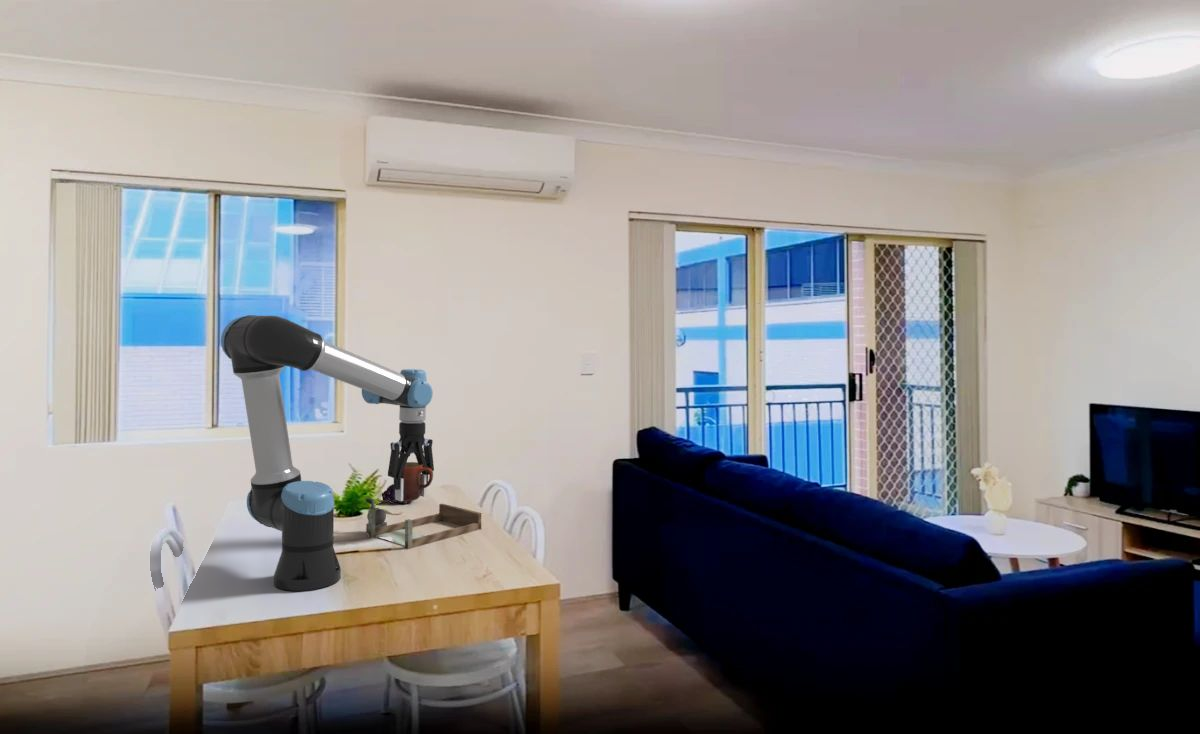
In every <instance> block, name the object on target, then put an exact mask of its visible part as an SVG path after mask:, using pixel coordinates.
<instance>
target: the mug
mask: <svg viewBox="0 0 1200 734" xmlns="http://www.w3.org/2000/svg"><path fill="white" fill-rule="evenodd" d="M422 471H429V474H430V475H428V483H427V484H425V485H422V484H421V474H422V473H421V472H422ZM401 478H403V479H404V481H403V501H408V502H412V501H413V500H414V501H416V500H418V499H419V498H420V497H421V496H420V494H421V489H424V488H426V489H427V488H428V487H429V486H431V484H432V481H433V479H434V471H432V469H430V468H426V467H425V468H424V467H423V464H421V465H418V462H416V461H415V462H413V461H412V462H411V461H407V462H406V465H405V468H404V471H403V474H402V476H401Z"/></svg>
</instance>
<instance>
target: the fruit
mask: <svg viewBox="0 0 1200 734" xmlns="http://www.w3.org/2000/svg"><path fill="white" fill-rule="evenodd" d="M381 497H382V501H383V502H387V501H388V502H389V501H391V502H392V503H391V504H393V503H398V504H401V503H402V504H403V505H407V504H408V503H409V501H398V500H395V489H394V483H392V484H390V485H389V486H388V487H387V488H386V490H384V491H383V492H382V493H381ZM414 501H415V500H413V502H414Z"/></svg>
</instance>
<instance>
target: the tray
mask: <svg viewBox="0 0 1200 734" xmlns="http://www.w3.org/2000/svg"><path fill="white" fill-rule="evenodd" d="M365 503H368V504H369V505H370V509H368V512H367V516H366V517H367V521H368V523H366V525H365V526H366V527H365V528H366V529H365V530H366V531H365V533H368V534H367V537H368V536H370V537H369V538H376V537H388V536H390V537H392V538H393V544H396V545H398V546H403V547H404V549H407V550H409V549H412V548H416V547H421V546H424V545H427V544H431V543H435V542H438V541H442V540H447V539H450V538H454V537H457V536H460V535H465V534H467V533H470V532H471V533H472V532H475V531H479V530H481V529H482V512H479V511H476V510H475V511H474V510H470V509H468V508H467V509H466V508H462V507H457V506H453V505H449V504H445V503H439V505H438V506H439V510H438V512H439V513H436V514H435V513H434V514H431V515H427V516H422V517H418V518H417V517H416V518H414V519H410V518H408V519H405V520H404V521H401V522H397V523H393V524H392V523H391V524H388V522H387V521H386V518H387V512H386V511H385V510H384V509H381V508H377V507H375V499H373V498H369V497H366V498H365ZM439 521H443V522H444V521H445V522H447V523H452V524H455V525H459V526H457V527H455V528H449V529H446V530H442V531H438V532H433V533H431V534H428V535H424V534H421V533H417V532H413V528H415V527H419V526H423V525H427V524H431V523H432V524H433V523H435V522H439ZM478 529H479V530H478Z"/></svg>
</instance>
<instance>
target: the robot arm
mask: <svg viewBox="0 0 1200 734" xmlns="http://www.w3.org/2000/svg"><path fill="white" fill-rule="evenodd" d="M220 337H221V338H220V345H221V348H222V351H223V353H224V354H225V355H226V357H227V358H228V359H230V360H231V366H232V371H233V375H235V376H236V377H238V378H239V379H240V380H241V384H242V391H243V398H244V404H245V405H244V406H245V410H246V416H247V423H248V424H247V425H248V429H249V435H250V441H251V448H252V453H253V454H252V455H253V462H254V467H255V468H254V469H255V473H254V475H253V476H252V477H251V478H250V485H251V487H250V491H248V493H247V495H246V507H247V511H248V513H249V514H250V517H252V519H253V520H255V521H257V522H258V523H259V524H260V525H263V526H264V527H268V528H272V529H275V530H277V531H280V532H281V554H280V557H279V559H278V563H277V565H276V568H275V571H274V574H273V586H274V587H275V588H277V589H280V590H284V591H291V592H292V591H293V592H300V591H312V590H318V589H319V590H320V589H323V588H326V587H330V586H333V585H334V584H336V583H339V581H340V580H341V578H342V570H341V569H342V568H341V565H340V562H339V559H338V557H337V554H336V550H335V548H334V547H335V546H334V521H335V520H334V517H335V516H334V515H335V514H334V511H335V509H334V508H335V497H334V491H333V488H331V486H329V485H328V484H326V483H324V482H321V481H312V480H302V477H301V476H302V475H301V471H300V469H298V468H296V467H295V466H294V465H293V458H292V452H291V446H290V444H291V443H290V438H289V433H288V432H289V431H288V426H287V417H286V411H285V405H284V404H285V403H284V398H283V391H282V383H281V378H280V377H281V376H280V374H281V373H282V372H283V370H284V369H285V367H290V368H294V369H297V370H299V371H302V372H308V371H310V370H311V371H314V372H316V373H320V374H322V375H324V376H328V377H330V378H332V379H336V380H338V381H341V382H343V383H345V384H348V385H351V386H354V387H357V388H360V389H361V396H362V398H363V400H364V401H365V403H367V404H371V405H373V404H374V405H379V404H386V405H392V406H399V416H398V419H399V421H400V422H399V425H398V427H399V428H398V430H399V431H398V433H399V439H398V441H396V442H391V443H390V456H389V463H388V470H387V476H388V477H390V478H392V479H393V484H394V489H395V500H398V501H403V481H404V479H403V478H401V476H402V474H403V471H404V468H405V465H406V462H408V459H409V457H411V454H414V455H415V459H416V461H417V463H418V465H421V464H423V467H424V468H425V467H426V468H430V469H432V471H433V472H434V470H435V467H434V466H435V465H434V464H435V463H434V455H433V439H430V438H425V435H426V422H424V421H426V420H427V419H426V417H427V416H426V414H427V413H426V411H427V406H428V405H429V404H430V403H431V401H432V399H433V392H434V391H433V388H432V386H431V384H430V383H429V382H428V381H427V373H426V371H425V370H423V369H414V368H411V369H410V368H408V369H407V368H406V369H405V368H404V369H401V370H400V372H397V371H395V370H393V369H390V368H388V367H386V366H384V365H381V364H379V363H377V362H375V361H371V360H370V359H367V358H365V357H362V356H360V355H359V354H358V355H357V354H355V353H353V352H351V351H349V350H346V349H343V348H341V347H340V346H337V345H335V344H333V343H330V342H328V341H325V340H324V337H323V336H322V334H319V333H318V332H315V331H312V330H311V329H309V328H306V327H304V326H302V325H299V324H298V323H296V322H294V321H291V320H289V319H287V318H284V317H281V316H277V315H255V314H254V315H253V314H251V315H249V314H248V315H244V316H243V315H242V316H239V317H236V318H234V319H232V320H231V321H230V322H228V323H227V325H226V326H225V327H224V328H223V330H222V333H221V335H220ZM429 476H430V474H429V471H422V472H421V484H422V485H425V484H427V483H428V481H429ZM420 497H423V498H425V497H427V487H426V488H424V489H421V494H420Z"/></svg>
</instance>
